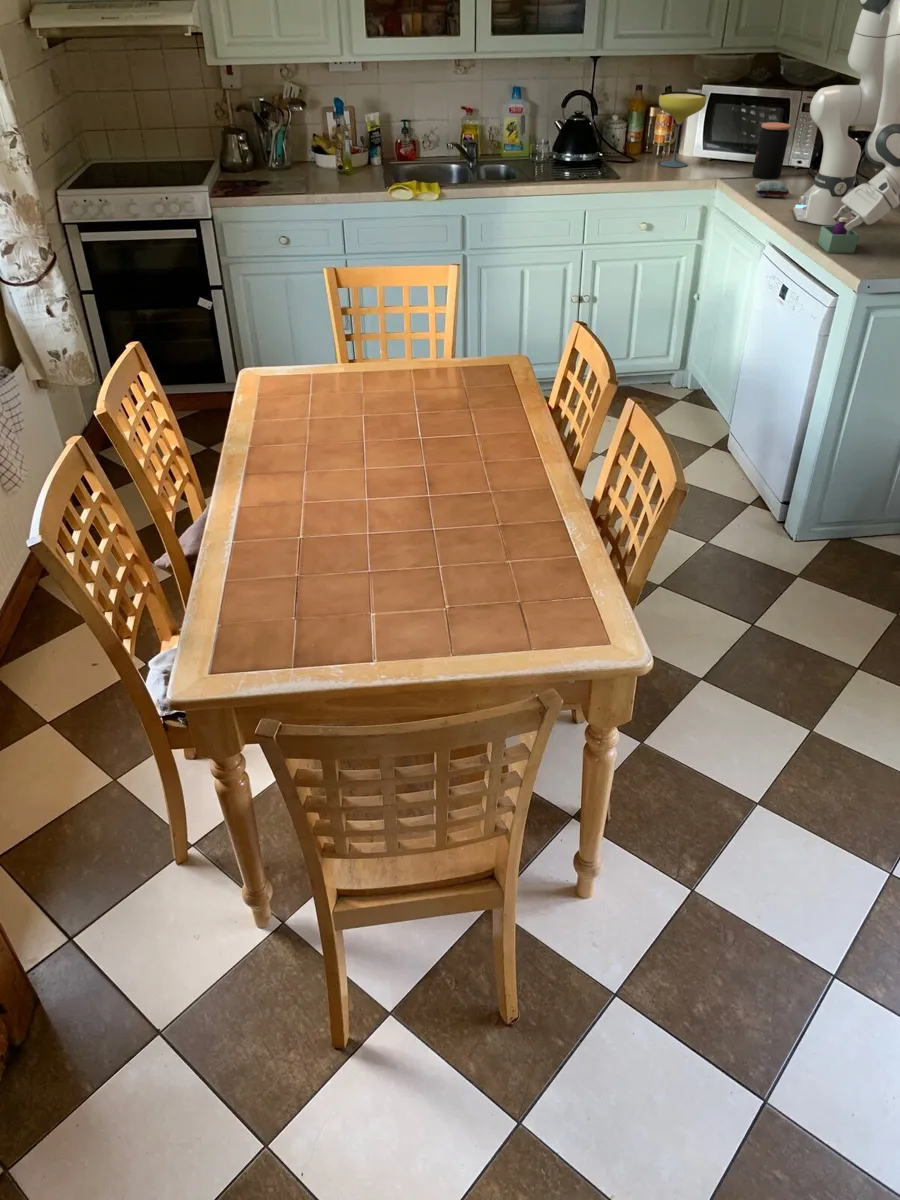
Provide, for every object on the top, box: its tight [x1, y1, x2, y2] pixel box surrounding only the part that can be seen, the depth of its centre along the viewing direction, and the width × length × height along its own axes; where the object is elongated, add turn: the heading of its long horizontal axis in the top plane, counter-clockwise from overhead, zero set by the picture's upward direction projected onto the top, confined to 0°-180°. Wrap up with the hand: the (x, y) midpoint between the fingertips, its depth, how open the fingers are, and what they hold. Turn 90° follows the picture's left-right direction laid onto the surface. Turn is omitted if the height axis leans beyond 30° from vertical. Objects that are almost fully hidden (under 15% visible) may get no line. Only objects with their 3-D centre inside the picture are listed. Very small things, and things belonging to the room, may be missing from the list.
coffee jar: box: [752, 121, 792, 180], centre depth 339 cm, size 11×11×18 cm
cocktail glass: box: [658, 91, 707, 168], centre depth 354 cm, size 18×18×25 cm
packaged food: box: [754, 180, 791, 198], centre depth 318 cm, size 9×12×5 cm
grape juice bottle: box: [833, 217, 847, 235], centre depth 265 cm, size 4×4×8 cm
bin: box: [817, 225, 860, 254], centre depth 266 cm, size 10×8×5 cm
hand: (839, 224), depth 264 cm, fingers open, 8 cm apart
